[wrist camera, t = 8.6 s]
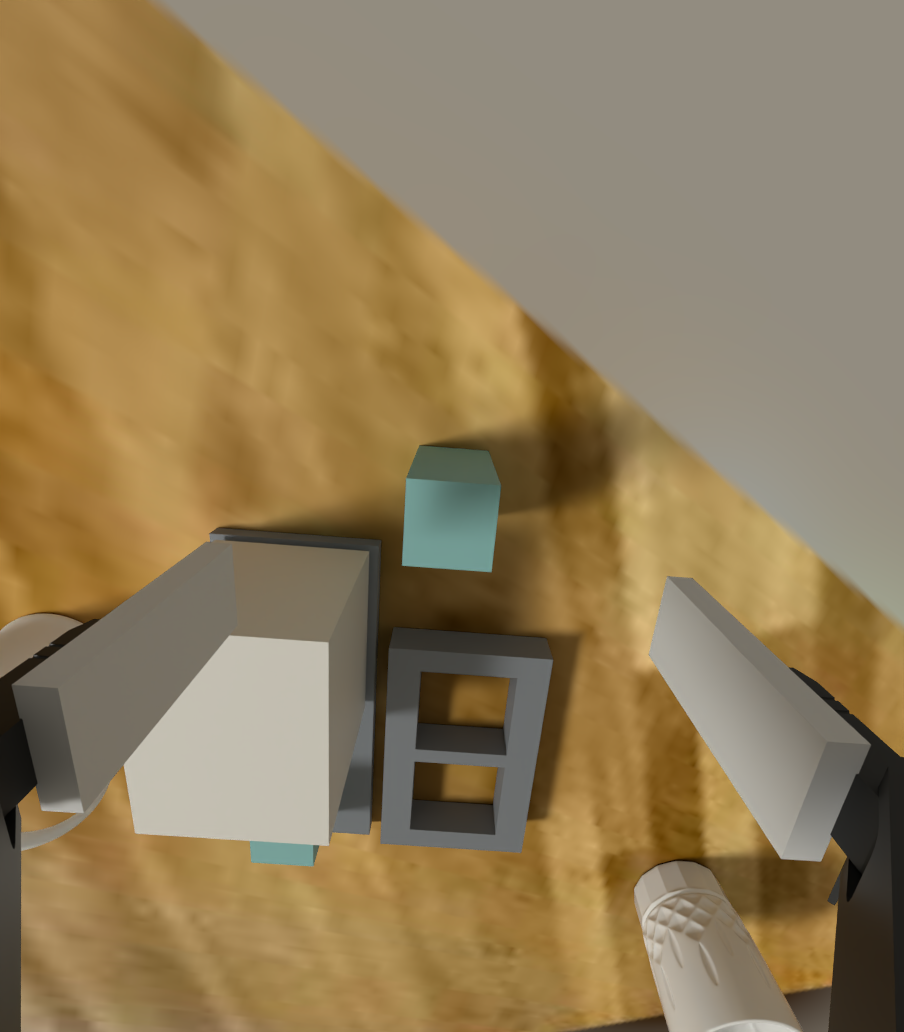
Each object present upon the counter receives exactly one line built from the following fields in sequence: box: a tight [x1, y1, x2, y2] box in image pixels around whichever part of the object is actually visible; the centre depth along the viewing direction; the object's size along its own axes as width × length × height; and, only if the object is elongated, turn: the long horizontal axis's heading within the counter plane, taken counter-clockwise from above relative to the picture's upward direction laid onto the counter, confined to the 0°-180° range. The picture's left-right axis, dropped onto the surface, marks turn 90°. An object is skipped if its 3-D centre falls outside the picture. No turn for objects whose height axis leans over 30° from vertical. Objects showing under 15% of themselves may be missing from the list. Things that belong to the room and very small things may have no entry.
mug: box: [0, 614, 110, 851], centre depth 27 cm, size 12×8×12 cm
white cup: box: [634, 861, 804, 1032], centre depth 34 cm, size 8×8×10 cm
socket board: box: [380, 627, 553, 853], centre depth 33 cm, size 16×10×2 cm, turn 176°
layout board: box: [210, 528, 381, 866], centre depth 31 cm, size 23×10×5 cm, turn 176°
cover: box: [124, 540, 369, 846], centre depth 26 cm, size 11×9×10 cm
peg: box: [402, 445, 501, 572], centre depth 25 cm, size 4×4×8 cm
